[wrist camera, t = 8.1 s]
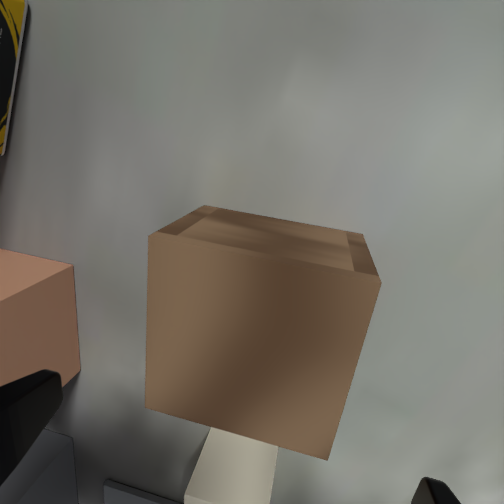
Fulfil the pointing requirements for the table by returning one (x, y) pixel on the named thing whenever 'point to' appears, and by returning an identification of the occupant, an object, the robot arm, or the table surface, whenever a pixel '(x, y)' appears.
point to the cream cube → (232, 471)
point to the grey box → (43, 473)
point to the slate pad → (129, 495)
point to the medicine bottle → (9, 58)
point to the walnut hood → (256, 325)
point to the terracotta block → (37, 317)
